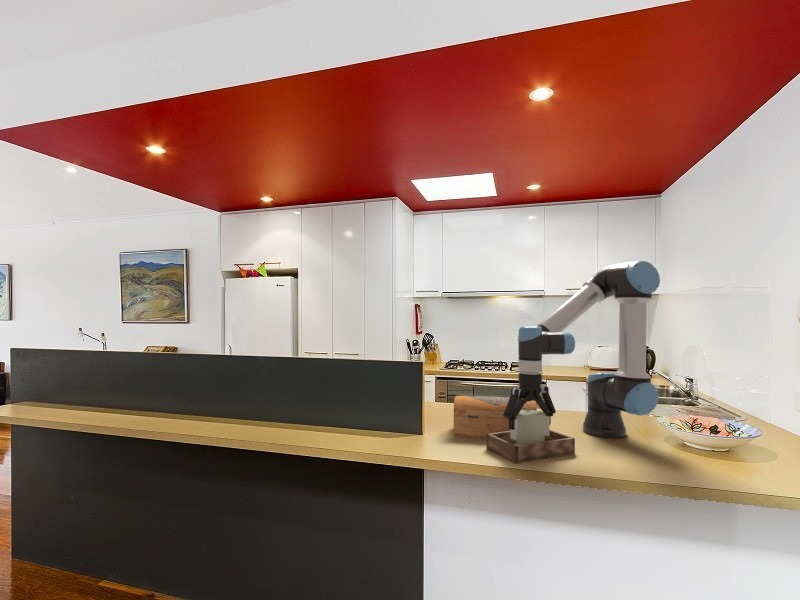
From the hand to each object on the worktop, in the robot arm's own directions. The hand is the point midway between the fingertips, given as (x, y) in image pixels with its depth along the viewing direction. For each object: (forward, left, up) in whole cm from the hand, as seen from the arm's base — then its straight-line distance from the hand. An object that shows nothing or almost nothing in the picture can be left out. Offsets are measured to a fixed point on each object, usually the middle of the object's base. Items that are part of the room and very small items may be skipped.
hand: (530, 437), depth 142 cm
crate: (0, 0, -5) cm, 5 cm away
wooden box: (-2, -22, -5) cm, 23 cm away
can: (0, 0, -4) cm, 4 cm away
